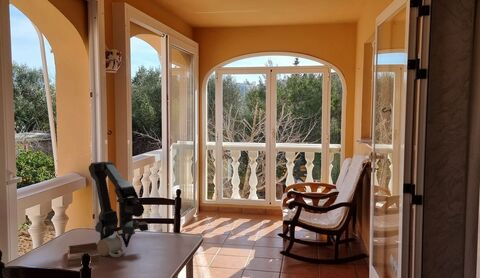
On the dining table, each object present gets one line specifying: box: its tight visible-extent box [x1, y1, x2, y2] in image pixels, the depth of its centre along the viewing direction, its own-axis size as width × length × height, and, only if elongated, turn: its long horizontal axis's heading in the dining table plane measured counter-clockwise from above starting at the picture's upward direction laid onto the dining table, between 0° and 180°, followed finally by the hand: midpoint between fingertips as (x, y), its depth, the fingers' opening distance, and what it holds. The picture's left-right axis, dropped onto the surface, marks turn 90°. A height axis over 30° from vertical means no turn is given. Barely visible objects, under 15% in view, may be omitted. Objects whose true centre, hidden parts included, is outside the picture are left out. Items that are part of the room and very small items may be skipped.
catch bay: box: [67, 242, 100, 267], centre depth 166 cm, size 17×12×3 cm
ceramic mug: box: [96, 234, 124, 258], centre depth 169 cm, size 11×8×8 cm
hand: (126, 247), depth 173 cm, fingers closed
